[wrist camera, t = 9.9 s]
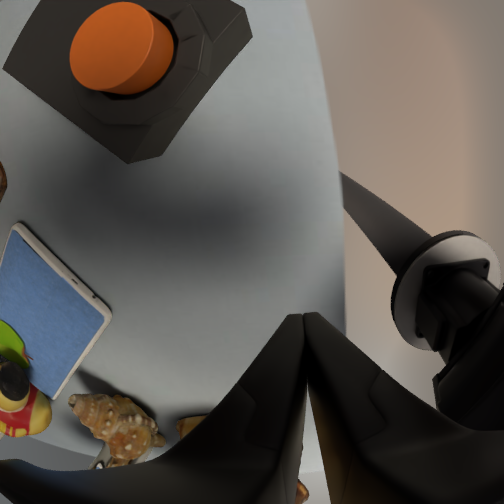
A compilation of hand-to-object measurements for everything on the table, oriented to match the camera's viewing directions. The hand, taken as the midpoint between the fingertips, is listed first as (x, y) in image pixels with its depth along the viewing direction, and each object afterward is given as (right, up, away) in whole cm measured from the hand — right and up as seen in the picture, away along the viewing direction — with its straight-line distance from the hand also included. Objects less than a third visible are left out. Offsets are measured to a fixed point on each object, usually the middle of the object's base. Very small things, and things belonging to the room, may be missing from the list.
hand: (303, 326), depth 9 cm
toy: (-32, -17, +19) cm, 41 cm away
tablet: (-24, -5, +18) cm, 30 cm away
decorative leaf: (-28, -9, +15) cm, 33 cm away
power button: (-7, +11, +3) cm, 14 cm away
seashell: (-15, -15, +21) cm, 30 cm away
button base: (-10, +16, +9) cm, 20 cm away
